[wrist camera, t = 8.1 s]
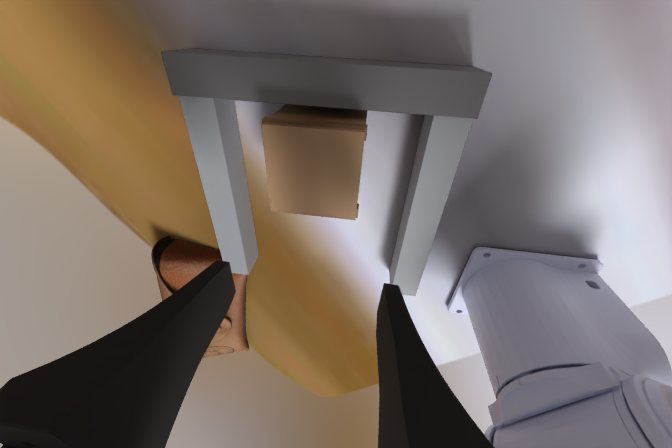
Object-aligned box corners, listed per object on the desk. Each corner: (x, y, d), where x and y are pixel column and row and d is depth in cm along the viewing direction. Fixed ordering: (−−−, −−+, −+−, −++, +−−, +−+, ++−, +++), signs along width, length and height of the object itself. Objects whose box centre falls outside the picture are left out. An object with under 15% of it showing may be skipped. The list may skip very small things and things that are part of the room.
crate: (369, 106, 17) (367, 130, 13) (360, 182, 20) (356, 221, 16) (286, 100, 17) (258, 121, 13) (290, 175, 20) (269, 212, 16)
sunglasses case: (252, 354, 36) (204, 396, 31) (220, 320, 39) (171, 354, 34) (251, 253, 25) (178, 293, 20) (207, 217, 28) (134, 246, 23)
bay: (473, 66, 15) (492, 73, 12) (412, 273, 24) (416, 301, 22) (193, 48, 16) (160, 51, 14) (237, 252, 25) (223, 276, 23)
